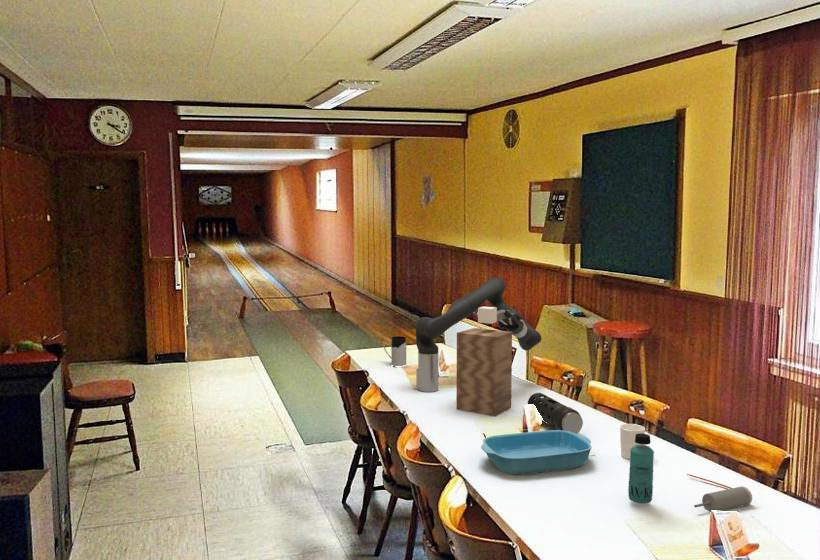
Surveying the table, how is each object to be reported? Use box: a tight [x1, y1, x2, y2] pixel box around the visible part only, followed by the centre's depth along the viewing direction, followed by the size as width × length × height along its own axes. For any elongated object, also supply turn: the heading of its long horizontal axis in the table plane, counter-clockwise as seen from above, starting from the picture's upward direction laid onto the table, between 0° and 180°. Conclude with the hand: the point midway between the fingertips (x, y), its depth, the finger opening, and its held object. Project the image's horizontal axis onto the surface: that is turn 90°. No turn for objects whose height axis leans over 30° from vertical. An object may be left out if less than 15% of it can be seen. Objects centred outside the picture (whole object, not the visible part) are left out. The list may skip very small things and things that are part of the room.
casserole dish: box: [480, 429, 592, 475], centre depth 229 cm, size 37×22×7 cm, turn 105°
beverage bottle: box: [627, 433, 655, 505], centre depth 196 cm, size 6×7×20 cm
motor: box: [686, 473, 753, 512], centre depth 203 cm, size 23×22×5 cm
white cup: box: [619, 423, 646, 460], centre depth 235 cm, size 8×8×10 cm
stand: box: [455, 327, 513, 417], centre depth 290 cm, size 18×14×32 cm
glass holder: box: [382, 335, 407, 366], centre depth 373 cm, size 9×14×15 cm, turn 57°
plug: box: [477, 306, 510, 325], centre depth 295 cm, size 6×19×6 cm, turn 145°
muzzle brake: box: [527, 392, 584, 434], centre depth 266 cm, size 10×28×10 cm, turn 16°
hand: (500, 311), depth 299 cm, fingers closed on plug, 4 cm apart
